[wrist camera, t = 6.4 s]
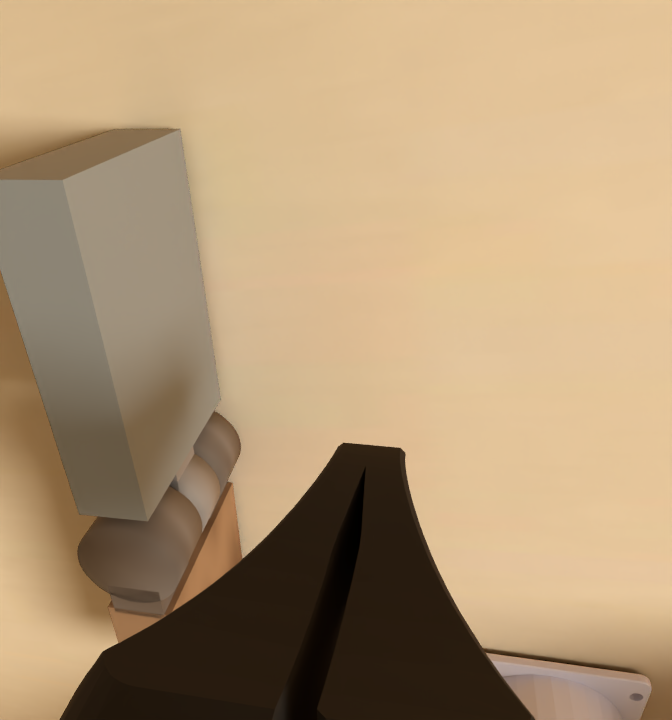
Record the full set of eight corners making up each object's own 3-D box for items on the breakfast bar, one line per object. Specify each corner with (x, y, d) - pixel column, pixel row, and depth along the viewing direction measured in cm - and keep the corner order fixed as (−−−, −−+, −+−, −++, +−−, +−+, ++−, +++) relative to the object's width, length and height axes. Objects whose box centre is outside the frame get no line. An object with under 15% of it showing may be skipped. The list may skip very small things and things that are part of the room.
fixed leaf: (262, 636, 28) (219, 777, 23) (199, 627, 28) (143, 764, 23) (236, 410, 22) (169, 534, 16) (156, 403, 22) (66, 522, 17)
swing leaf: (244, 475, 23) (185, 608, 18) (170, 468, 24) (91, 596, 18) (197, 128, 17) (86, 180, 12) (97, 129, 17) (-52, 179, 12)
